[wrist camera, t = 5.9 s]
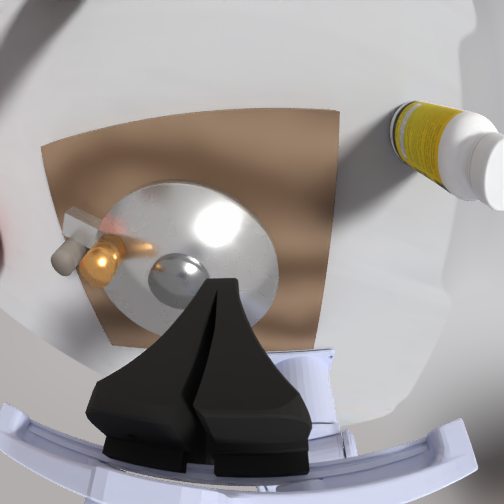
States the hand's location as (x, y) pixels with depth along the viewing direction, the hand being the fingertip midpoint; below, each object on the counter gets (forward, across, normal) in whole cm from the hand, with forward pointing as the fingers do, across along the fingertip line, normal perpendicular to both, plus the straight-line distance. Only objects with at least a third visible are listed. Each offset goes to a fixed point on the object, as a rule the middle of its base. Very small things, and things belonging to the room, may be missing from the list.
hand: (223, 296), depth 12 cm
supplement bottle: (+10, -14, -6) cm, 18 cm away
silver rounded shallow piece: (+8, +5, +3) cm, 10 cm away
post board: (+10, +4, +4) cm, 12 cm away
